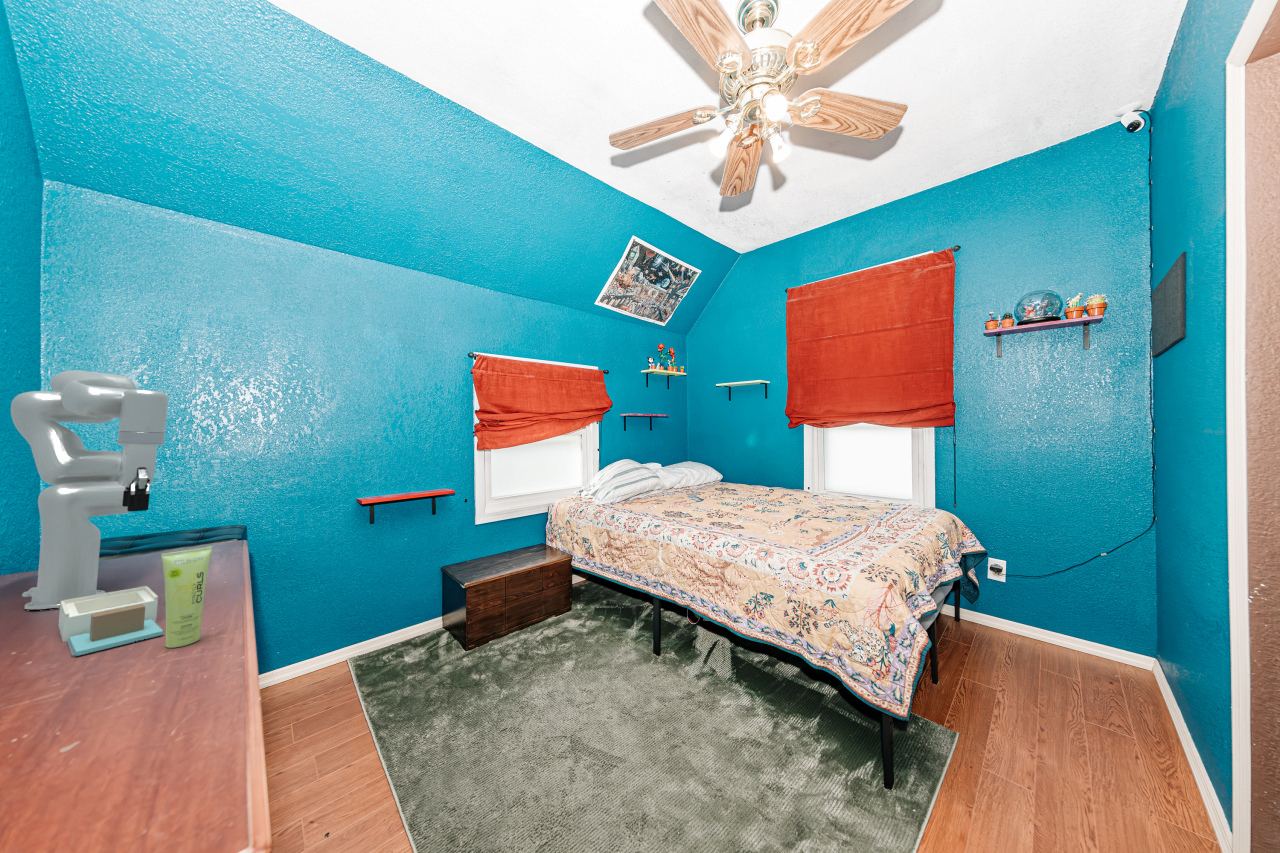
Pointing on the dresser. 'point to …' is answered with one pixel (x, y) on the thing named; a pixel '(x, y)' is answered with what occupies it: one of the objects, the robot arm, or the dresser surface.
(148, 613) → the box
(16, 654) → the dresser surface
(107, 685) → the dresser surface
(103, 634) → the lid
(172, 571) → the tube
